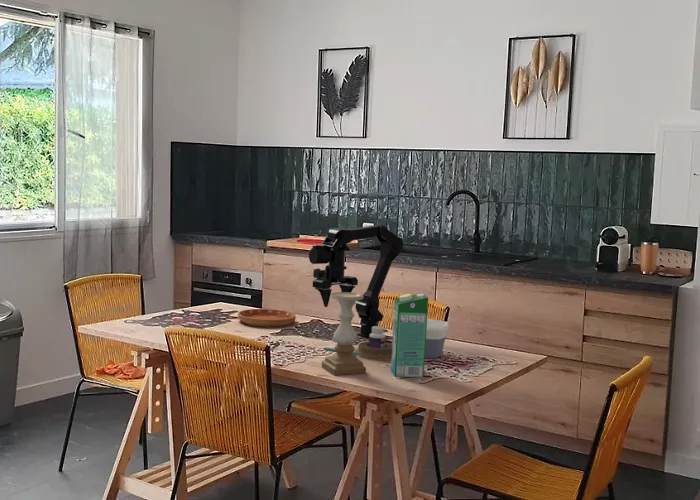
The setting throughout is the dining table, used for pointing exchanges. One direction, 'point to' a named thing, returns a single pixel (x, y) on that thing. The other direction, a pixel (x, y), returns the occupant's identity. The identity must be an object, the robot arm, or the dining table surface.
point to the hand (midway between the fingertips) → (334, 305)
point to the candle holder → (344, 339)
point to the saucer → (266, 317)
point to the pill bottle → (377, 337)
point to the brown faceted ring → (375, 351)
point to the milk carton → (409, 335)
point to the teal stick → (335, 351)
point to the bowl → (435, 337)
